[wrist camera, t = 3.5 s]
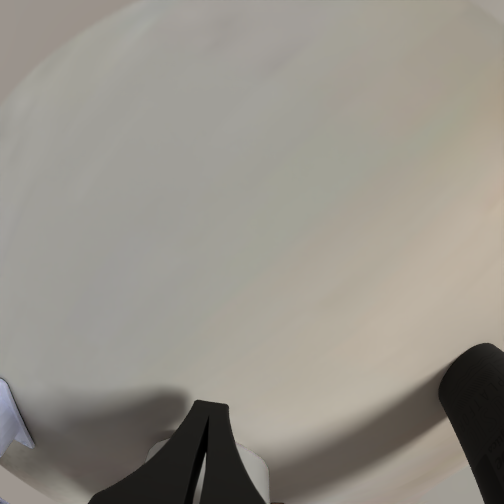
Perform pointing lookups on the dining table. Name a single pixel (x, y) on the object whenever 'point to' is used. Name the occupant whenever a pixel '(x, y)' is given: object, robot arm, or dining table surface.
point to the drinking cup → (479, 414)
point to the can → (251, 463)
